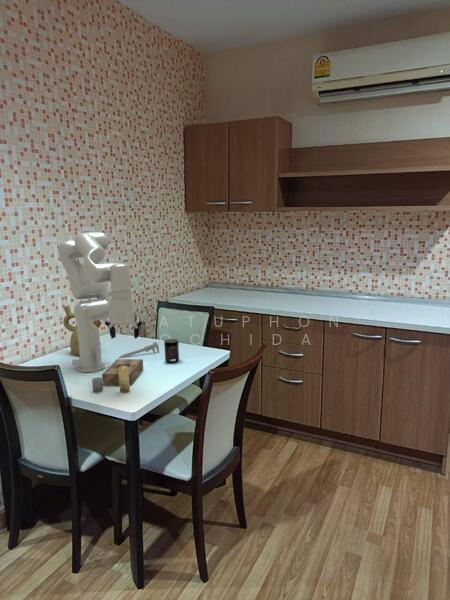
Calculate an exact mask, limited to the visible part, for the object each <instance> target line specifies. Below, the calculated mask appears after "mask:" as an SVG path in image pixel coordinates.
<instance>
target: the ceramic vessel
mask: <svg viewBox="0 0 450 600" xmlns="http://www.w3.org/2000/svg"><path fill="white" fill-rule="evenodd" d="M62 308H63V311H64V312H65V316H64V318H63V326H64V328H65V329H67V330H68V331H70V332H72V334H71V335H70V341H69V345H70V346H69V347H70V351H71V352H70V353H71V354H72V355H74V356H80V354H79V341H78V330H77V325H75V326H74V325H72V324H70V320H71V319H75V316H74V312H73V313H72V310H71V308H70V305H65V306H64V307H62ZM93 323H94V324H95V325H96V326H97V327H98V329H99V330H100V327H101V326H102V320H97V321H94V322H93ZM101 345H102V344H101V341H100V346H101Z"/></svg>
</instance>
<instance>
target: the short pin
mask: <svg viewBox="0 0 450 600" xmlns="http://www.w3.org/2000/svg"><path fill="white" fill-rule="evenodd" d="M91 386H92V393H95V394H96V393H97V394H99V393H102V392H104V385H103V379H102V377H98V376H97V377H94V378H93V377H92V379H91Z"/></svg>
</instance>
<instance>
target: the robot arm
mask: <svg viewBox="0 0 450 600" xmlns="http://www.w3.org/2000/svg"><path fill="white" fill-rule="evenodd" d="M109 243H110V242H109V238H108V236H107V235H106V234H105V233H104V232H103V231H91V232H90V231H89V232H88V231H87V232H80V233H78V234H76V235H75V237H74V239H68V240H65V241H64V240H63V241H62V242H60V243H59V245H58V249H57V253H58V258H59V260H60V262H61V264H62V267H63V268H64V270H65V272H66V274H67V278H68V283H69V286H70V289H71V293H72V296H73V298H74V299H76V300H83V301H80V302H78V303H76V304H75V305H74V307H73V313H74V316H75V318H74V319H75V322H76V323H75V325H76V326H77V330H78V341H79V354H80V355H79V359H77V358H75V359H72V360H71V364H72V366H73V365H74V366H76V365H77V367H76V370H77V371H78V372H80V373H93V372H94V373H95V372H99V371H102V370H104V369H105V368H106V363H104V362H102V360H103V359H102V350H101V345H100V342H101V338H100V337H101V335H100V328H99V329H98V327H97V326H96V325H95V324H94V323H93V322H94V321H97V320H100V321H103V323H104V325H105V326H106V327H107V328H108V330H109V336H110V338H111V339H115V338H116V337H117V336H116V335H117V334H116V327H115V325H119V326H121V325H132V326H133V327H134V328H133V337H134V339H138V338H139V336H140V335H141V334H140V327H141V326H142V324H143V323H144V320H145V319H146V317H145V315H142V314H140V313H139V312H137V308H136V304H135V299H134V297H132V287H131V286H132V285H131V272H130V271H131V270H130V266H129V264H128V263H121V262H115V261H114V262H105V263H103V261H104V259H105V258H106V251H107V250H108V249H109ZM77 259H83V263H81V262H80V261H78V260H77ZM101 262H102V263H101ZM108 282H109V283H110V287H111V288H110V289H111V292H109V288H108V284H107V283H108ZM87 299H91V300H87ZM138 319H139V321H138Z"/></svg>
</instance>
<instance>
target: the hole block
mask: <svg viewBox="0 0 450 600" xmlns="http://www.w3.org/2000/svg"><path fill="white" fill-rule="evenodd" d="M123 365H126V366H128V369H129V385H130V386H133V384H134V383H135V382H136V380H137V379H138V378H139V376H140V375H141V374H142V373H143V371H144V360H143V359H141V358H138V359H137V358H136V359H134V358H132V359H131V358H128V359H125V358H122V359H121V358H118V359H115V360H114V362H112V363H111V365H110V366H108V368H106V369H105V371H104V372H102V374H101V376H102V377H101V378H102V382H103V386H116V387H117V386H119V374H118V367H119V366H123Z"/></svg>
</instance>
